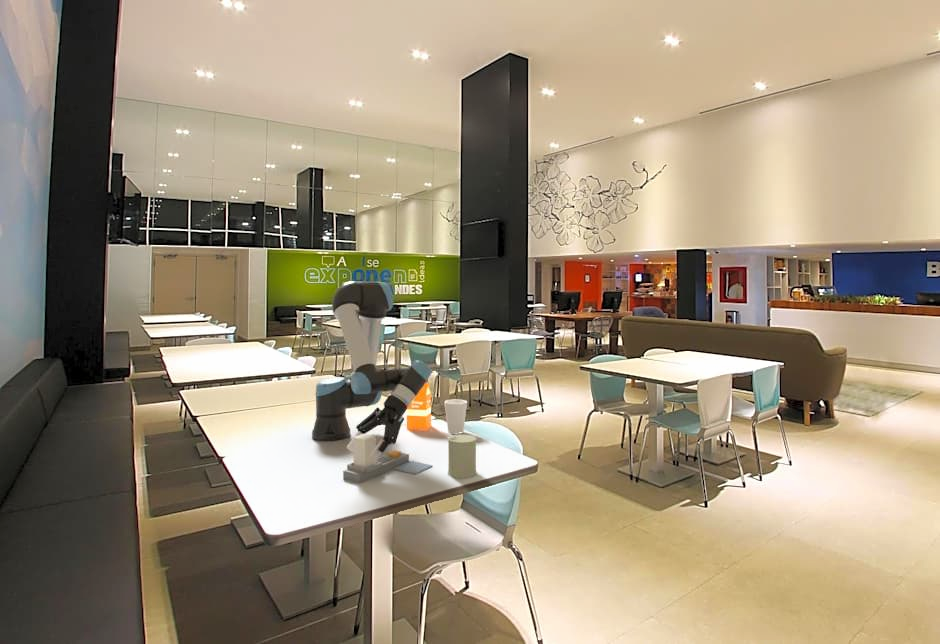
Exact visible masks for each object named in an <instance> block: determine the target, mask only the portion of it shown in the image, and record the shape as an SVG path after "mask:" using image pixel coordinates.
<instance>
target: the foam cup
mask: <svg viewBox="0 0 940 644" xmlns="http://www.w3.org/2000/svg"><path fill="white" fill-rule="evenodd" d="M467 408H468V401H467V400H466V399H460V398H459V399H458V398H457V399H446V400H444V409H445V417H446V418H445V419H446V424H447V432H448V434H450V433H459V432H463V433H464V430H465V425H466V424H465V423H466V421H465V420H466V414H467Z"/></svg>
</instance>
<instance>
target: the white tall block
mask: <svg viewBox="0 0 940 644" xmlns="http://www.w3.org/2000/svg"><path fill="white" fill-rule="evenodd" d="M352 439H353V452H352V454H353V463H354V466H357V467H361V468H368V467H370V466H373V465H375V464H376V462H374V461H373V460H372V459H370V458H369V456H370V455H371V453H372V452H373V450H374V449H375V448H376V446H377V436H376V435H373V434H368V433H365V434H362V435H359V436H356V437H354V436H353V437H352Z"/></svg>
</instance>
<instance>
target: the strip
mask: <svg viewBox="0 0 940 644" xmlns="http://www.w3.org/2000/svg"><path fill="white" fill-rule="evenodd" d="M409 461H410V454H409V453H406V452H405V453H404V452H402V451H400V450H392V451H390V452H388V453H384V454H381V455H380V457H379V458H378V459H377V461H376V464H375V465H373V466H370V467H368V468H361V467H357V466H354V462H352V463H349V464H346V465H347V466H346V468H347V469H345V470H343V471H342V472H343V473H342V474H343V475H342V477H343V480H347V481H351V482H353V483H354V482H355V483H357V484H361V483H363V482H365V481H367V480H370V479H372V478H374V477H376V476H379V475H381V474H383V473H386V472H389V471H390V470H394V468H396V467H398V466H400V465H403V464H405V463H407V462H409Z"/></svg>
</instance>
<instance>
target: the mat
mask: <svg viewBox="0 0 940 644" xmlns="http://www.w3.org/2000/svg"><path fill="white" fill-rule="evenodd" d="M432 467H433V465H431V464H428V463H423V462H418V461H414V460H409V462H406V463H404V464H402V465H400V466H397V467H395V468H393V470H395V471H398V472H403V473H408V474H411V475H418V474H420V473H422V472H424V471H427V470H428V469H430V468H432Z"/></svg>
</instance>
